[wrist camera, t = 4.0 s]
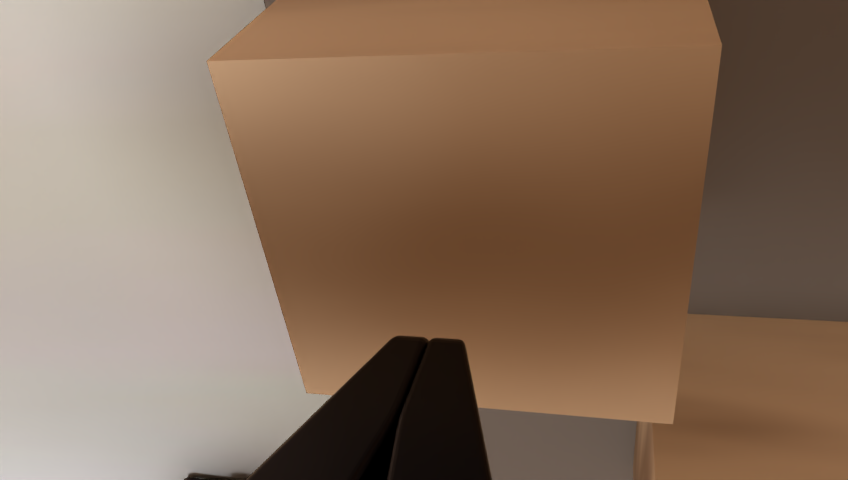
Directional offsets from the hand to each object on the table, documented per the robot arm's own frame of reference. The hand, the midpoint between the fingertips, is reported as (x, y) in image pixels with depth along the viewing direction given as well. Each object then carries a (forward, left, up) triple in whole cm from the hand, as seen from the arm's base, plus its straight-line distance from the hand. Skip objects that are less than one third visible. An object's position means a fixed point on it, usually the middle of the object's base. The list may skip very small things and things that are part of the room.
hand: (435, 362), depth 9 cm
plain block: (0, 0, -8) cm, 8 cm away
